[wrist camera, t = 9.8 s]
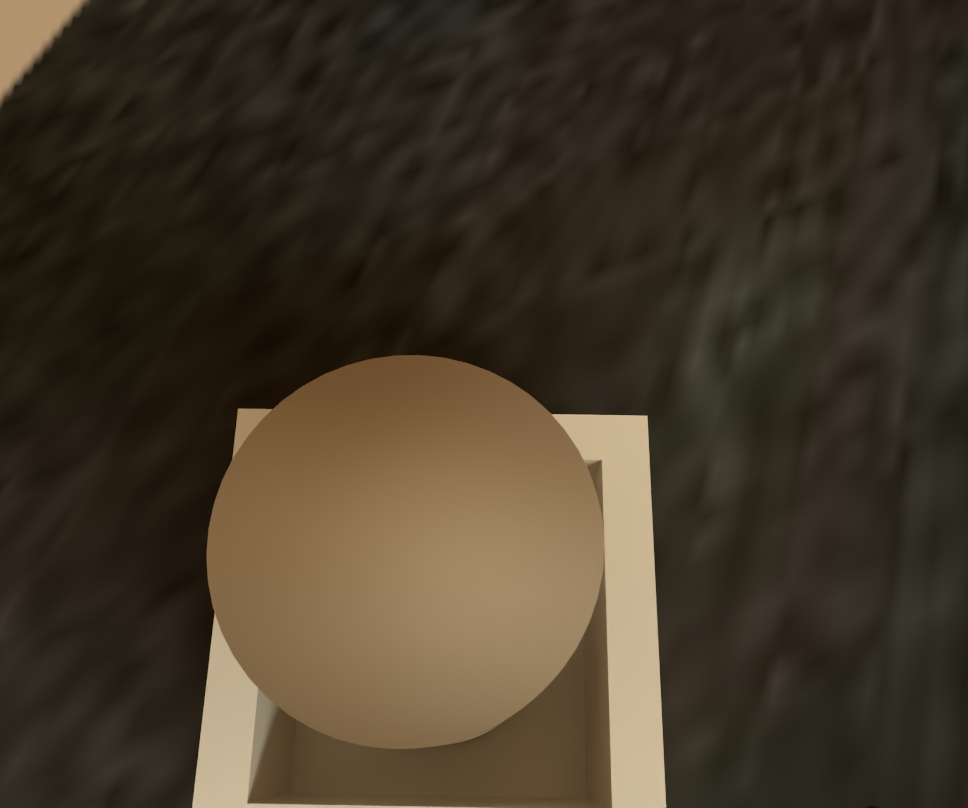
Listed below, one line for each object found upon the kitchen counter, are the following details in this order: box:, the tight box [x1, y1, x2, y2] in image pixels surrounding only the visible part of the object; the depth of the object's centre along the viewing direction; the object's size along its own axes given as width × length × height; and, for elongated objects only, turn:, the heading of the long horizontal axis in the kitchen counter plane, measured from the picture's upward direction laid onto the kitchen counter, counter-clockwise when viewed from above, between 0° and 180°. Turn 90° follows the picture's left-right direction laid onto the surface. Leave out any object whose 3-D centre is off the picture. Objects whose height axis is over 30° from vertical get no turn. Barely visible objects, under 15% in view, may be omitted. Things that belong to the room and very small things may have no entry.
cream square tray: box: [192, 409, 666, 808], centre depth 17 cm, size 7×7×4 cm
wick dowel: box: [206, 355, 604, 749], centre depth 13 cm, size 4×4×10 cm
